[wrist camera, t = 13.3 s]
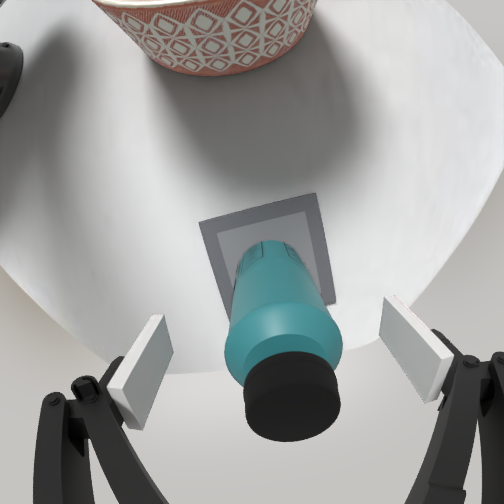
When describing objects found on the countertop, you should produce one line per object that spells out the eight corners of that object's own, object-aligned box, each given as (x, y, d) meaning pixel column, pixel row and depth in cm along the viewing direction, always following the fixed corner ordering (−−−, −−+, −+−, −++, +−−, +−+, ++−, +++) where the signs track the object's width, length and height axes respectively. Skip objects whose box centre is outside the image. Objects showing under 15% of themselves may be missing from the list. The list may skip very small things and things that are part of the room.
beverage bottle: (230, 243, 28) (179, 377, 9) (294, 226, 28) (372, 334, 8) (247, 301, 30) (235, 468, 10) (308, 286, 29) (372, 440, 10)
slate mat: (231, 324, 31) (231, 326, 31) (199, 222, 28) (198, 222, 28) (335, 300, 30) (336, 301, 30) (314, 192, 27) (315, 193, 27)
